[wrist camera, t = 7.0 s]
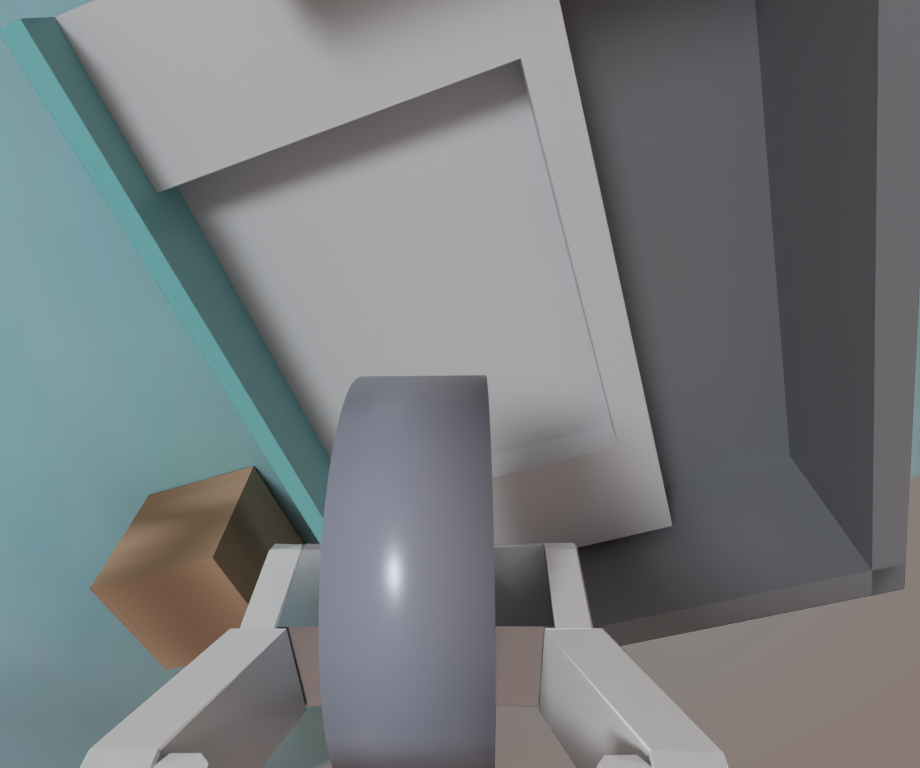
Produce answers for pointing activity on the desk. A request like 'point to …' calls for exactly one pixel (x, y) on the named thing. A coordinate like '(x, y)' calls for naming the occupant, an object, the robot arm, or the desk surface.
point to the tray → (371, 226)
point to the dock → (759, 295)
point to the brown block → (192, 563)
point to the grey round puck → (409, 577)
